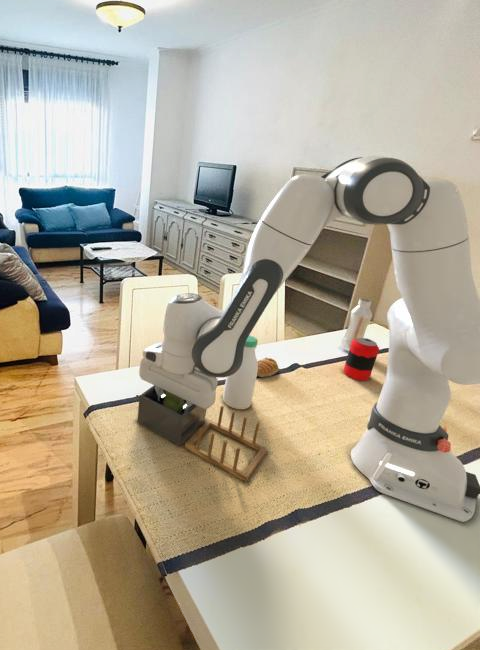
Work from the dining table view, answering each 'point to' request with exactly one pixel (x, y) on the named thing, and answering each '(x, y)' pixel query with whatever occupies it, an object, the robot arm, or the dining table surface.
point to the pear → (173, 402)
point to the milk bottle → (242, 379)
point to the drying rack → (232, 434)
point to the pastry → (267, 367)
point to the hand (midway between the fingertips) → (173, 406)
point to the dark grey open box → (168, 417)
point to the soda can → (361, 359)
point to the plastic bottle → (357, 323)
